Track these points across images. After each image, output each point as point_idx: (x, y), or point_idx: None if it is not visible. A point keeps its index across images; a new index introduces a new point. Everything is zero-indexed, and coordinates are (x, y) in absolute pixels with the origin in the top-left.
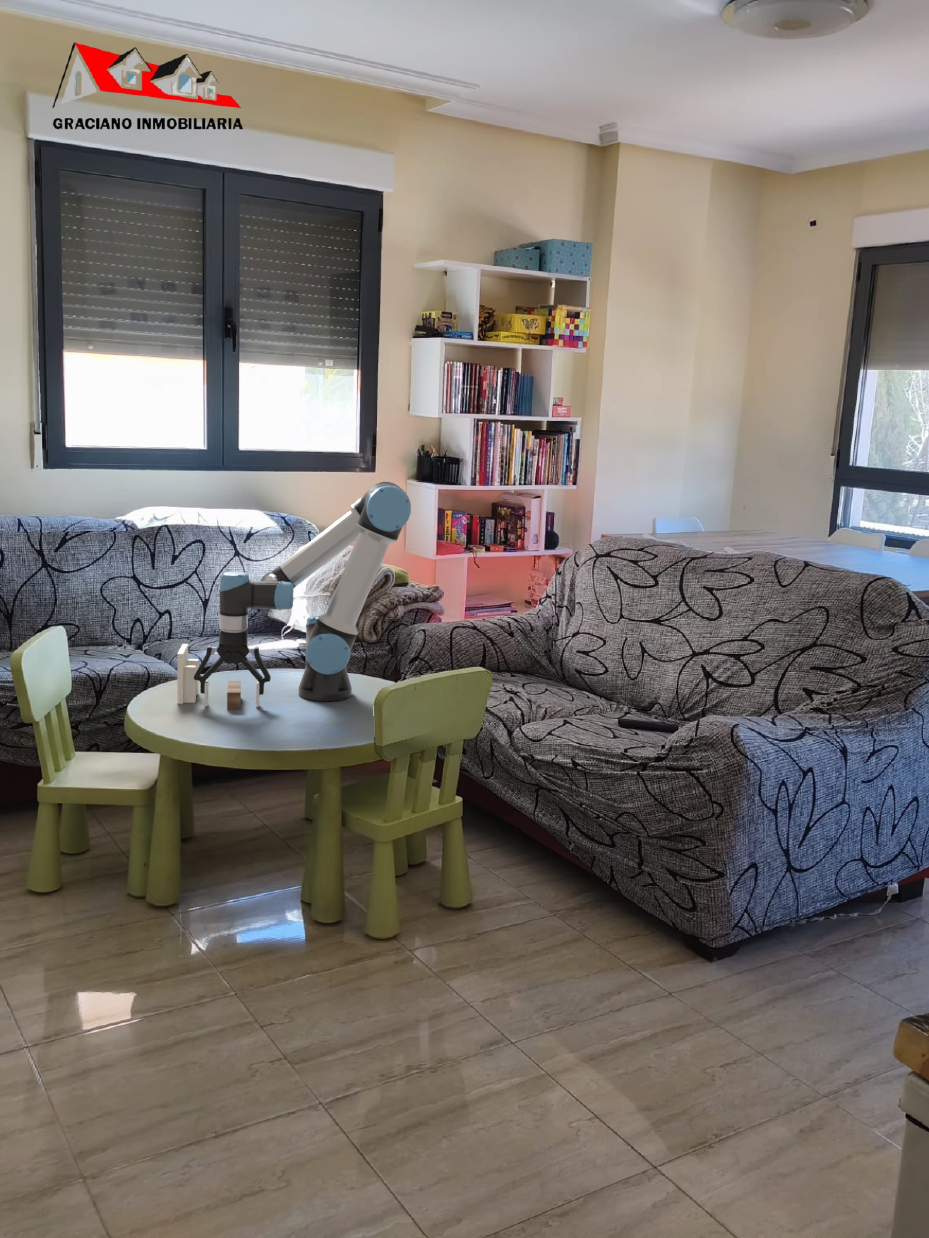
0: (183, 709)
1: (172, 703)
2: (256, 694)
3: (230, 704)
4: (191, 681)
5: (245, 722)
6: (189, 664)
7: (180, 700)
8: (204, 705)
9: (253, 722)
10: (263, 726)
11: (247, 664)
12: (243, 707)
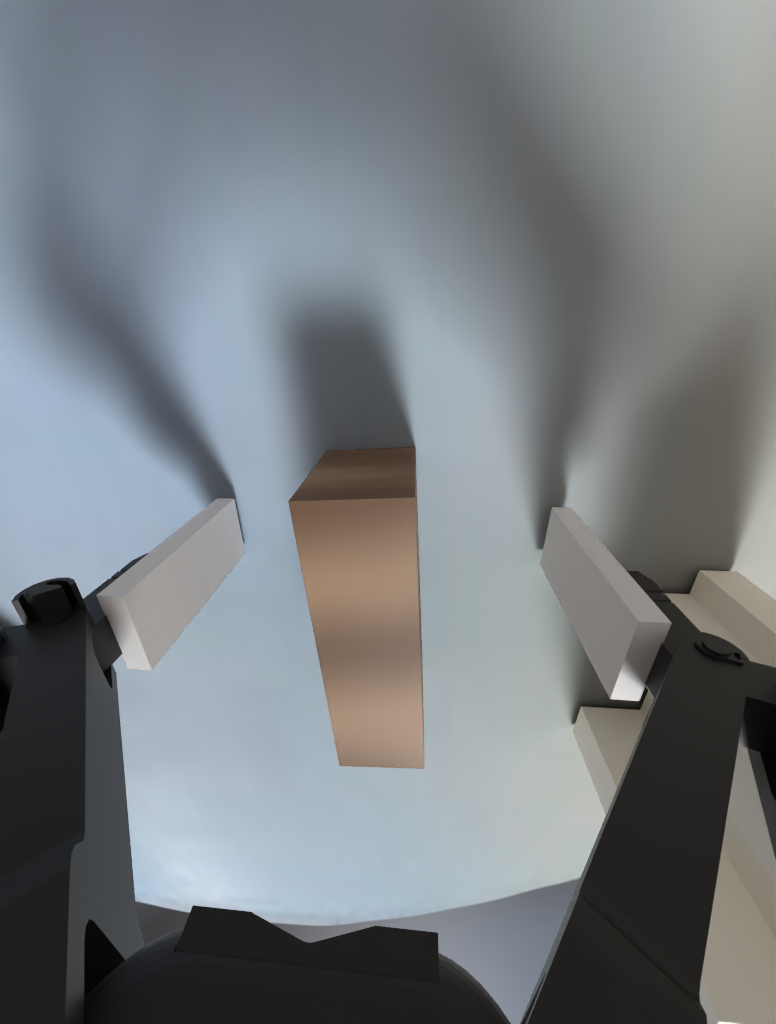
0: (721, 465)
1: None
2: (184, 541)
3: (390, 462)
4: None
5: (224, 61)
6: (771, 969)
7: (734, 584)
8: (572, 510)
9: (154, 69)
10: None
11: (7, 878)
12: None
